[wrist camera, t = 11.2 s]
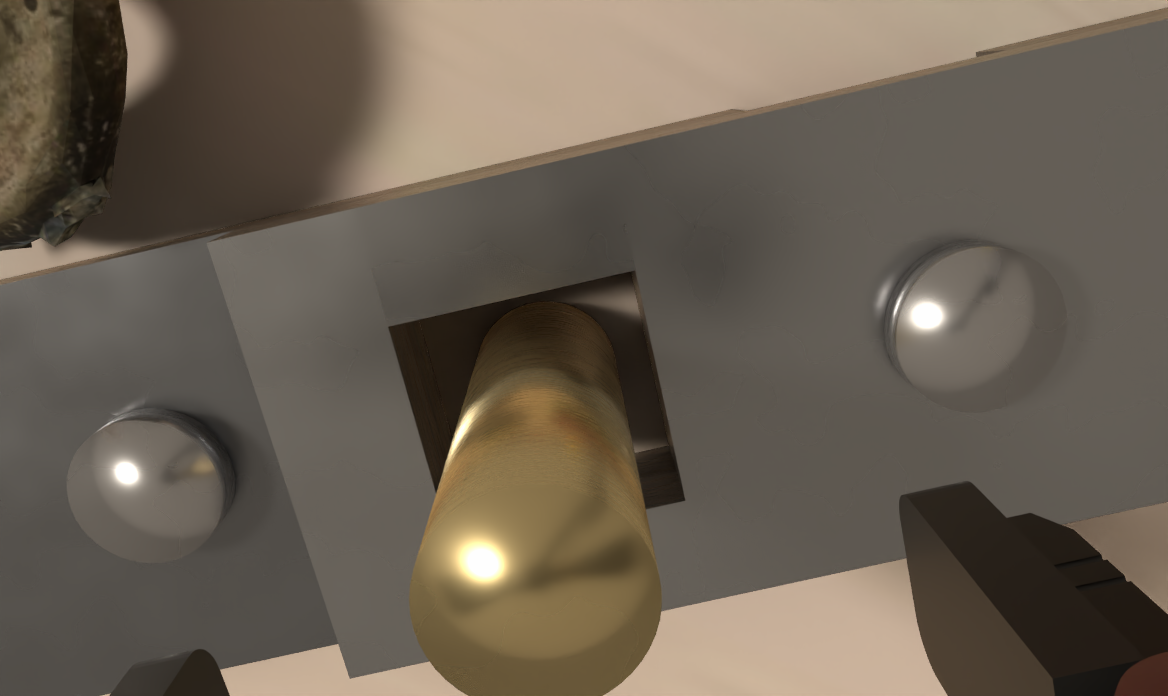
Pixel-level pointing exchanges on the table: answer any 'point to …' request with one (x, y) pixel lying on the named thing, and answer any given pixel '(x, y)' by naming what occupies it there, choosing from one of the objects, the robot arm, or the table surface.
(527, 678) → the brass pin
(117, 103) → the pulley block
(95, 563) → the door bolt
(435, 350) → the table surface
